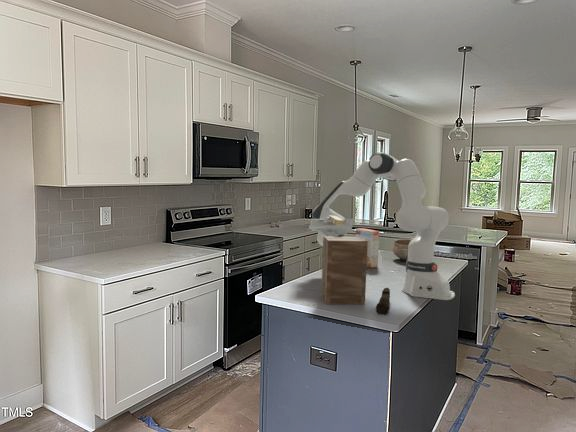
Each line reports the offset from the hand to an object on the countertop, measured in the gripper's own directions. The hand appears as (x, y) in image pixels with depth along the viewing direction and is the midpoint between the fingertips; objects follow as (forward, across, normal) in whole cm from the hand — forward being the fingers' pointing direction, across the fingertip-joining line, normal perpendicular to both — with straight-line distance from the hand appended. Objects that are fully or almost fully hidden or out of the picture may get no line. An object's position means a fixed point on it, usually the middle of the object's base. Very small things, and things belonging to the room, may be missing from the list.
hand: (333, 218), depth 208 cm
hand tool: (+14, +15, +44) cm, 49 cm away
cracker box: (-53, +28, +6) cm, 60 cm away
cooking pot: (-66, +58, -1) cm, 88 cm away
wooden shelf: (+7, 0, +40) cm, 41 cm away
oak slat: (+4, 0, +4) cm, 6 cm away
